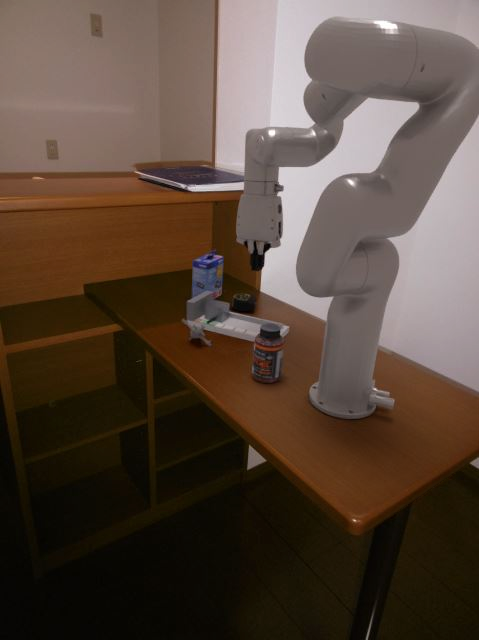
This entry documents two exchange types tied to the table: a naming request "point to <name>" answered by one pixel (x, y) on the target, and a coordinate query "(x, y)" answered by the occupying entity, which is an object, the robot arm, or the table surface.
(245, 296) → the tape measure
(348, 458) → the table surface
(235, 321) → the board
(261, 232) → the robot arm
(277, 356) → the supplement bottle
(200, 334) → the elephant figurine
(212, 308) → the block
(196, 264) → the ink cartridge box
